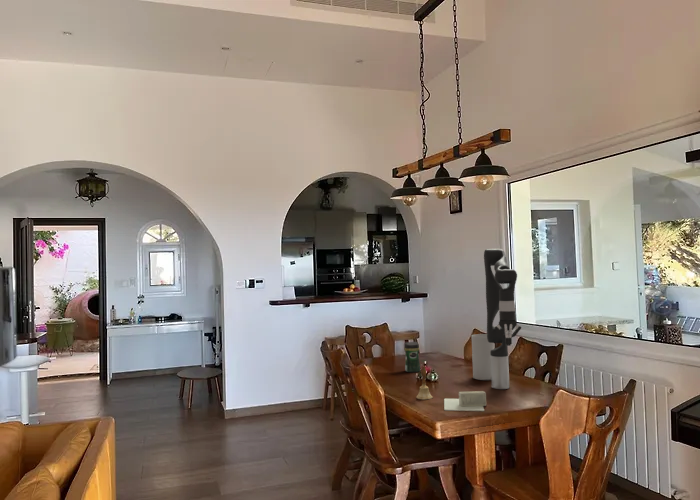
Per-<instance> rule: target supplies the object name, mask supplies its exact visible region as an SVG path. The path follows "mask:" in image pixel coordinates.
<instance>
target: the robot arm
mask: <svg viewBox="0 0 700 500" xmlns="http://www.w3.org/2000/svg"><path fill="white" fill-rule="evenodd" d="M483 259H484V261H483V262H484V274H485V301H486V334H487V340H488V342H489V343H494V344H501V345H499V346H498V347H494V349H492V350H491V351H490V355H491V380H490V382H491V388H492V389H496V390H506V389H510V373H509V371H510V369H509V368H510V366H509V352H508V350H509V349H508V346H509V347H510V346H511V345H512V344H513V343H512V341H513V340H512V338H514V337H516V336H517V335H518V333H519V332H520V331H521V329H522V327H521V325H519V324H517V320H516V318H517V317H516V304H515V303H516V302H515V288H516V284H517V279H518V273H517V271H516V270H515V269H512V268H510V267H509V265H508V262H507V257H506V253H505V250H504V249H502V248H487V249H485V250H484V251H483ZM492 266H493V267H494V269H493V270H494V272H493V270H492ZM503 284H504V285H507V284H509V285H508V286H507V287H505V288H504V287H503V286H502V285H503ZM497 314H499V315H498V316H499V321H498V324H496V325H493V324H494V320H495V318H496V316H497ZM514 329H515V330H514ZM513 330H514V331H513Z"/></svg>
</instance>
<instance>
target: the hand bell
mask: <svg viewBox="0 0 700 500" xmlns="http://www.w3.org/2000/svg"><path fill="white" fill-rule="evenodd" d="M420 372H421V373H420V374H421V379H422V382H421V383H422V385H421V386H419V391H418V394H417V395H416V397H415V398H416V399H418V400H423V401H424V400H432V399H433V396H432V395H431V392H430V390H429V387H428V386H427V385H426V384H427V383H426V378H427V369H426V366H425V365H422V366H421V368H420Z"/></svg>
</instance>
